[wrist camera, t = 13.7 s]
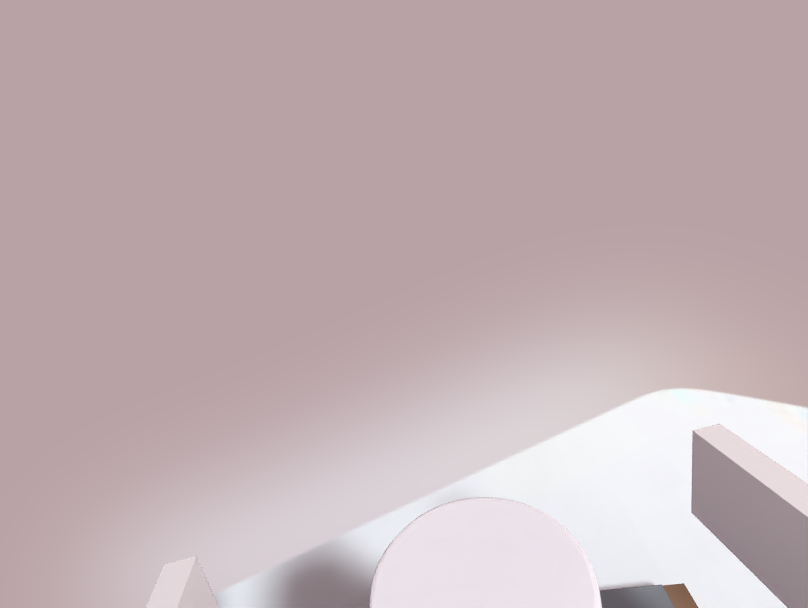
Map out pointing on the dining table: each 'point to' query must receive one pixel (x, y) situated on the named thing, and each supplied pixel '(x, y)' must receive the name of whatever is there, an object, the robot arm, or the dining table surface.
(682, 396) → the dining table surface
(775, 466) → the robot arm
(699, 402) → the dining table surface
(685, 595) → the trough board
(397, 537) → the pill bottle
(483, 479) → the dining table surface
